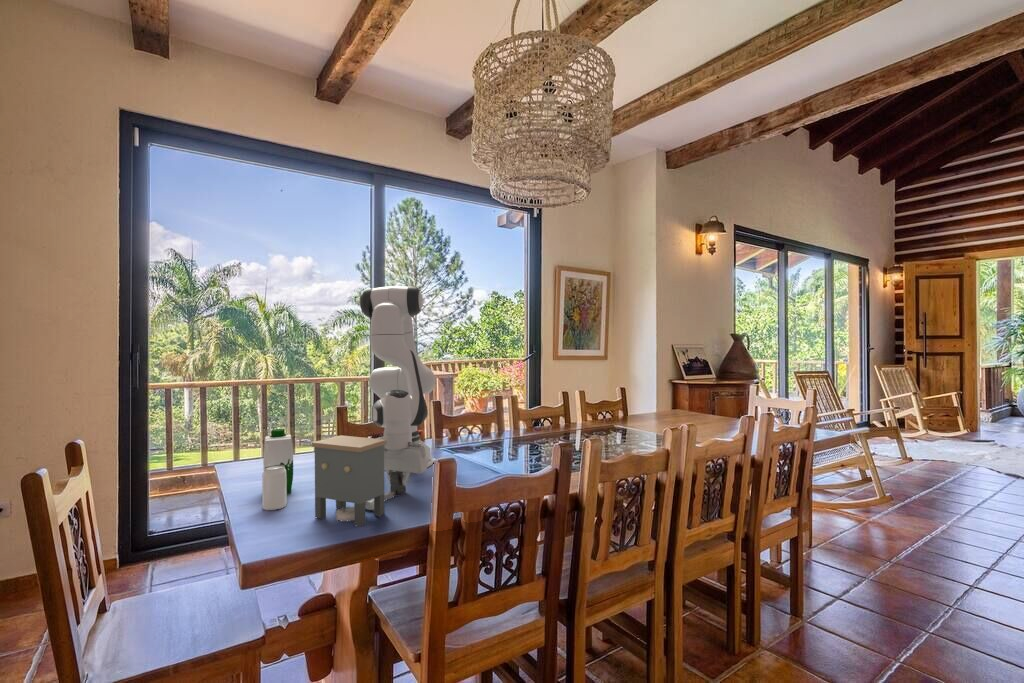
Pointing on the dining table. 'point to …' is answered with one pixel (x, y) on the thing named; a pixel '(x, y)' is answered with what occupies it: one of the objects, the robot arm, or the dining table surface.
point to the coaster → (345, 514)
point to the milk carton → (279, 453)
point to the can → (274, 487)
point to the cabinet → (349, 474)
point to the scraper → (394, 489)
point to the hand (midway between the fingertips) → (398, 484)
